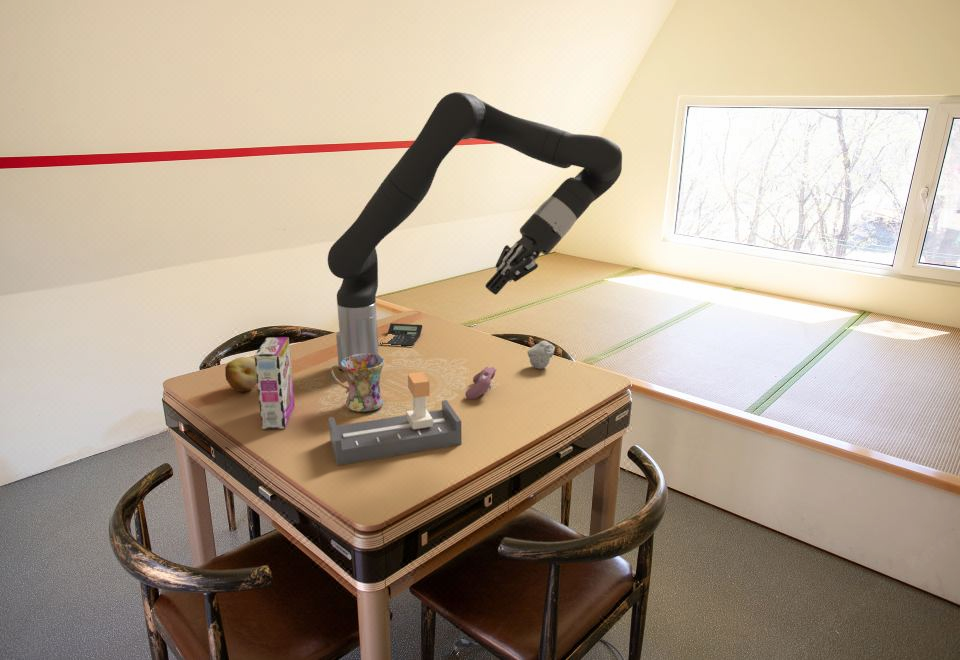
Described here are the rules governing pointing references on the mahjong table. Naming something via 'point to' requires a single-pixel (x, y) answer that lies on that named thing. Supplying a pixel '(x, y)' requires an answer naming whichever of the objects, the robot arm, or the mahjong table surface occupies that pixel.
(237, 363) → the fruit
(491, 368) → the pink toy animal figure
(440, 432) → the fader console
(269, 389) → the candy bar box
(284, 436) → the mahjong table surface
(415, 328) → the calculator
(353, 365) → the mug
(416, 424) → the fader knob
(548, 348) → the grey lumpy stone
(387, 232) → the robot arm
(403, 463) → the mahjong table surface
